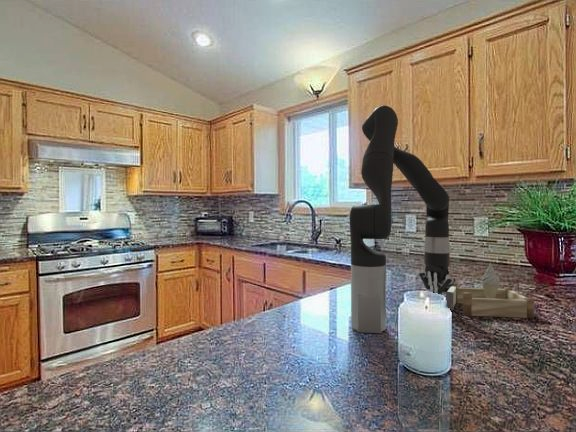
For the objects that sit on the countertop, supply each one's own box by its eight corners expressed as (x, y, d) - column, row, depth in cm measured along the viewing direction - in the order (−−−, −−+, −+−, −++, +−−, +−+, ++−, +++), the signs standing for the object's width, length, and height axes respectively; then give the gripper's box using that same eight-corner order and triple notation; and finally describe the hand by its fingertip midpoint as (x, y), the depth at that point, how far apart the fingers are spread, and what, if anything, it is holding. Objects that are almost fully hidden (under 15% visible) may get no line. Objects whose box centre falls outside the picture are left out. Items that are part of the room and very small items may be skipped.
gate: (449, 301, 120) (449, 285, 120) (456, 302, 119) (456, 286, 119) (446, 309, 111) (446, 292, 111) (453, 310, 110) (453, 292, 110)
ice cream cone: (481, 310, 112) (481, 262, 111) (481, 306, 116) (481, 260, 116) (500, 312, 109) (500, 263, 109) (499, 308, 114) (499, 261, 114)
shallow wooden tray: (535, 318, 103) (536, 296, 103) (464, 315, 106) (464, 294, 106) (510, 303, 119) (510, 284, 119) (448, 301, 123) (448, 282, 122)
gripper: (462, 252, 110) (462, 308, 111) (429, 248, 122) (428, 298, 122) (445, 253, 107) (445, 311, 107) (412, 249, 119) (412, 300, 119)
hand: (436, 304), depth 115 cm, fingers closed
